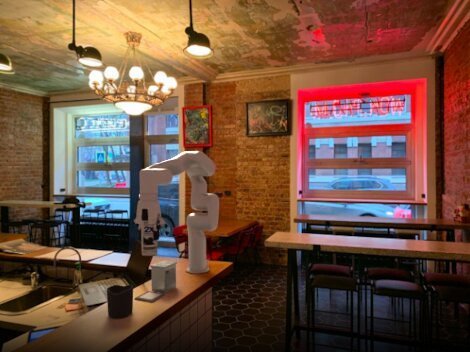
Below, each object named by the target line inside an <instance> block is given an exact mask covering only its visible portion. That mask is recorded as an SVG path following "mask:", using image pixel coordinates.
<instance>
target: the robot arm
mask: <svg viewBox="0 0 470 352" xmlns="http://www.w3.org/2000/svg"><path fill="white" fill-rule="evenodd" d="M184 172H185V173H186V174H187V176H188V178H189V181H190V183H191V191H190V193H191V194H190V207H191V209H192V210H195V211H207V212H192V213H189V214H188V215H187V217H186V219H185V220H186V221H185V223H186V226H187V227H186V229H187V234H188V235H187V236H188V238H187V239H188V240H187V242H188V245H187V246H188V266H187V267H186V268H185V272H187V274H188V273H189V274H203V273H206V272H209V271H210V268H209V266H207V264H210V260H209V259H207V238H206V235H205V232H206V231H207V232H213V231H215V230H216V229H217V228H218V224H219V215H220V213H219V211H220V198H219V196H218V195H217V194H215V193H213V192H211V193H209V192H208V184H207V181H206V179H205V178H204V177H212V176H213V175H214V174H215V172H216V165H215V163H214V161H213V160H212V159H211V158H210V157H209V156H208V155H207V154H205V153H204V152H202V151H200V150H194V151H193V150H191V151H190V150H189V151H182V152H180V153H179V154H178V155H176V156H174V157H172V158H171V159H166V160H164V161H161V162H158V163H157V162H156V163H154V164H151V165H150V166H148V167H146V168H142V169H141V170H140V171H139V194H138V196H137V197H138V198H139V200H138V202H137V206H136V216H135V219H133V222H134V223H135V225H136V227H137V229H138V231H139V240H141V219H142V217H141V215H142V209H148V224H149V225H153V227H154V230H155V231H154V232H153V240H154V241H155V240H157V241H158V240H160V231H161V230H162V228H164V227H163V226H164V225H165V224H166V221H165V219H163V217H162V211H161V204H160V203H161V202H160V201H159V186H167V185H169V184H171V183H172V181H173V178H174V177H175V176H178V175H181V174H182V173H184ZM156 225H157V227H156ZM204 231H205V232H204Z"/></svg>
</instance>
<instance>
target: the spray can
mask: <svg viewBox="0 0 470 352" xmlns="http://www.w3.org/2000/svg"><path fill="white" fill-rule="evenodd" d="M141 217H142V219H141V239H140V240H141V241H140V242H141V243H140V245H141V256H143V257H152V256H157V255H158V240H155V241H154V240H153V232H154V231H155V230H154V227H153V225H149V224H148V209H142V215H141ZM156 227H157V225H156Z"/></svg>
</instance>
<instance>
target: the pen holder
mask: <svg viewBox="0 0 470 352" xmlns="http://www.w3.org/2000/svg"><path fill="white" fill-rule="evenodd" d="M106 296H107V297H106V298H107V299H106V300H107V301H106V302H107V314H108V317H109V318H110V319H115V320H120V319H125V318H127V317H130V316H131V315H132V314H133V309H134V308H133V306H134V305H133V304H134V285H133V284H127V285H120V284H119V285H118V284H114V285H111V286H109V287H107V288H106Z"/></svg>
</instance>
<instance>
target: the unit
mask: <svg viewBox="0 0 470 352" xmlns="http://www.w3.org/2000/svg"><path fill="white" fill-rule="evenodd" d="M177 264H178V263H177V261H171V260H165V259H164V260H162V261H161V260H160V261H158V262H155V263H153V264H150V268H151V269H150V270H151V272H150V273H151V292H152V291H154V292H157V293H158V292H159V293H163V294H165V295H166V294H167V293H168V292H170V291H171V290H174V289H176V288H177Z"/></svg>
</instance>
